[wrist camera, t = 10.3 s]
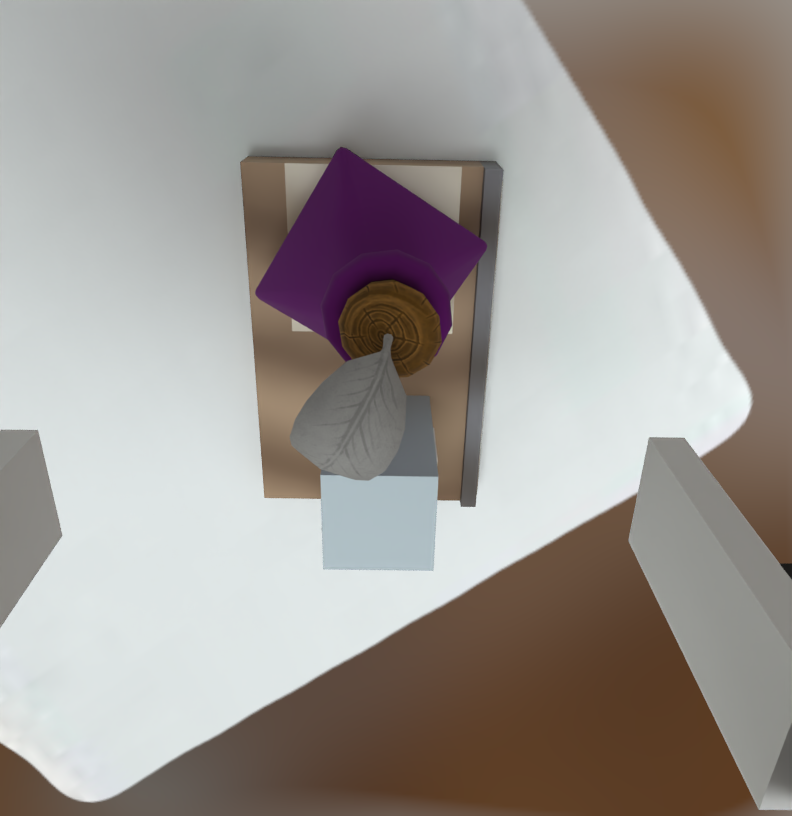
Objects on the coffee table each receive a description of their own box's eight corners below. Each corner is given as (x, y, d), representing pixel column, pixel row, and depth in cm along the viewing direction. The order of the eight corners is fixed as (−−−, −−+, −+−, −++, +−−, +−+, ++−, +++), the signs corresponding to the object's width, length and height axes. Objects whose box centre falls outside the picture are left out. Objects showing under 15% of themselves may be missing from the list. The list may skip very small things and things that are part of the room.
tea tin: (333, 394, 38) (320, 475, 30) (431, 395, 38) (440, 476, 31) (335, 475, 40) (323, 569, 33) (427, 477, 40) (435, 570, 33)
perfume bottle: (344, 135, 32) (297, 222, 16) (481, 228, 34) (564, 390, 18) (264, 274, 35) (153, 468, 19) (394, 352, 37) (397, 592, 20)
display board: (248, 156, 34) (237, 164, 32) (497, 161, 34) (505, 169, 32) (270, 478, 42) (262, 503, 40) (472, 481, 42) (477, 506, 40)
